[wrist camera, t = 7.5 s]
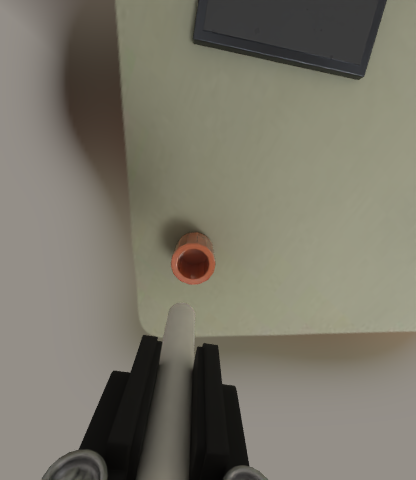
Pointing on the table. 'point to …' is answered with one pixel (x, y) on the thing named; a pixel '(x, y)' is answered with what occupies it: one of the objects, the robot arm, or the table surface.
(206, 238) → the pen holder
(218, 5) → the tablet
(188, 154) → the table surface
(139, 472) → the stylus
